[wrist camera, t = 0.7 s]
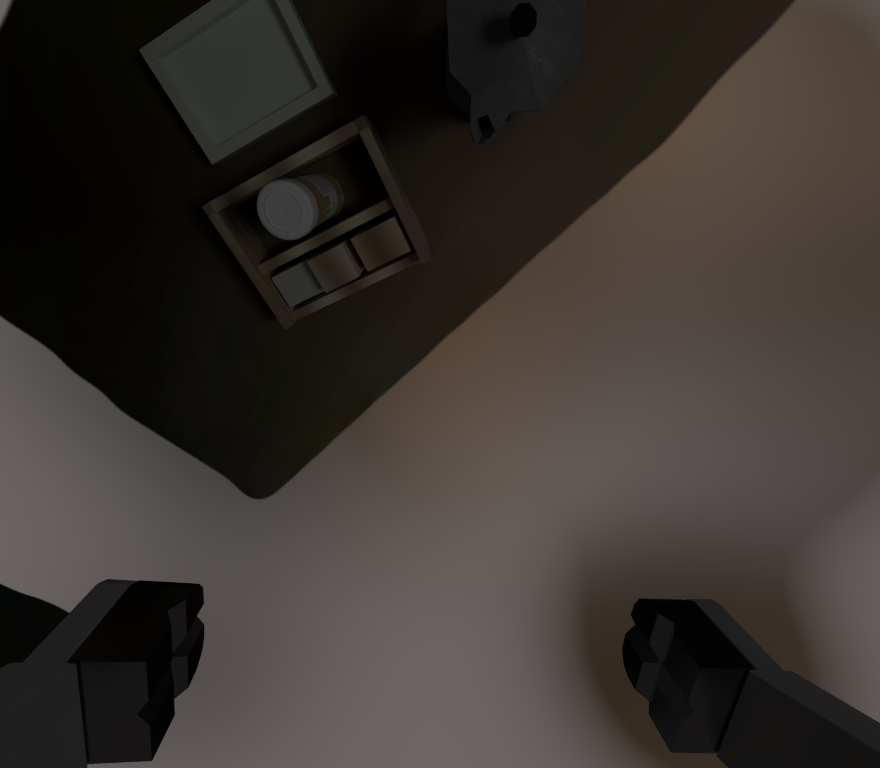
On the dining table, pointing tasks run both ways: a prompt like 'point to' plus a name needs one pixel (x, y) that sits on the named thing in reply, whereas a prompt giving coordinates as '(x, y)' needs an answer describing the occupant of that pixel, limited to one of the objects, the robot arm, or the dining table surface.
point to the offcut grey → (297, 282)
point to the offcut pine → (336, 264)
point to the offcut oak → (382, 241)
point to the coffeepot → (509, 56)
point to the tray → (239, 72)
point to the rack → (265, 267)
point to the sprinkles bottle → (298, 204)
